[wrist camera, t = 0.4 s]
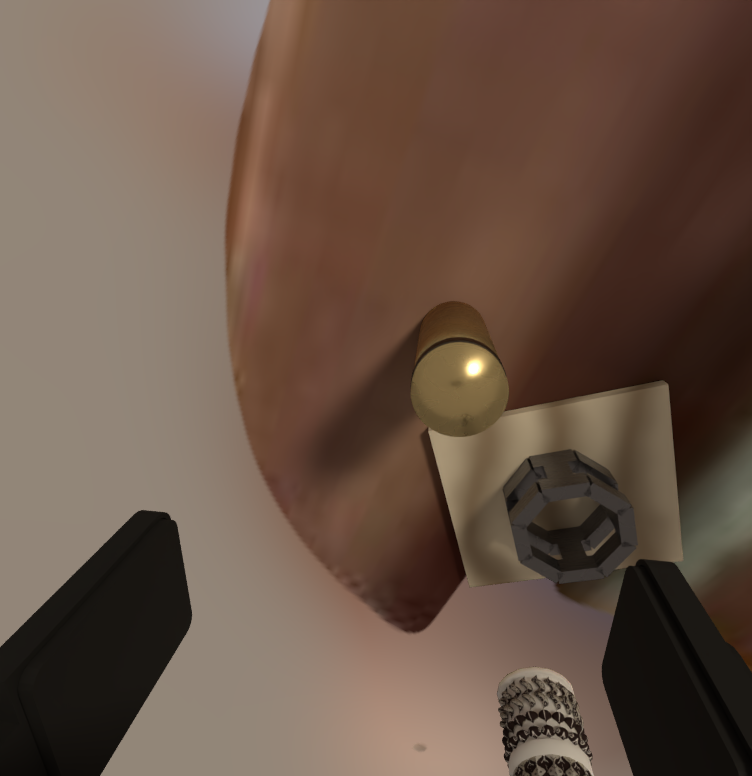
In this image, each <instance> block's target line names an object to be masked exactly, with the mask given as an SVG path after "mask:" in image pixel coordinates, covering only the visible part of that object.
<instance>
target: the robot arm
mask: <svg viewBox="0 0 752 776" xmlns="http://www.w3.org/2000/svg"><path fill="white" fill-rule="evenodd" d="M191 620H192V610H191V605H190V598H189V592H188V586H187V581H186V575H185V569H184V563H183V557H182V551H181V545H180V539H179V533H178V527H177V524H176V522H175V521H174V520H171V518H170V516H169V514H167V513H165V512H156V511H145V510H141V511H138V512H137V513H135V514H134V515H133V516H132V517H131V518H130V519H129V520H128V521H127V522H126V523H125V524H124V525H123V526H122V527H121V528H120V529H119V530H118V531H117V532H116V533H115V534H114V535H113V536H112V537H111V538H110V539H109V540H108V541H107V542H106V543H105V544H104V545H103V546H102V547H101V548H100V549H99V550H98V551H97V552H96V553H95V554H94V555H93V556H92V557H91V558H90V559H89V560H88V561H87V562H86V563H85V564H84V565H83V566H82V567H81V568H80V569H79V570H78V571H77V572H76V573H75V574H74V575H73V576H72V577H71V578H70V579H69V580H68V581H67V582H66V583H65V584H64V585H63V586H62V587H61V588H60V589H59V590H58V591H57V592H56V593H55V594H54V595H52V597H50V599H49V600H47V601H46V602H45V603H44V604H43V605H42V606H41V607H40V608H39V609H38V610H37V611H36V612H35V613H34V614H33V615H32V616H31V617H30V618H29V619H28V620H27V621H26V622H25V623H24V624H23V625H22V626H21V627H20V628H19V629H18V630H17V631H16V632H15V633H14V634H13V635H12V636H11V637H10V638H9V639H8V640H7V641H6V642H5V643H4V644H3V645H2V646H1V647H0V776H100V775H101V773H102V772H103V770H104V768H105V767H106V765H107V763H108V762H109V760H110V758H111V757H112V755H113V753H114V752H115V750H116V748H117V747H118V745H119V743H120V742H121V740H122V738H123V737H124V735H125V734H126V732H127V730H128V729H129V727H130V725H131V724H132V722H133V720H134V719H135V717H136V715H137V714H138V712H139V710H140V709H141V707H142V706H143V704H144V702H145V701H146V699H147V697H148V696H149V694H150V692H151V691H152V689H153V687H154V686H155V684H156V683H157V681H158V679H159V678H160V676H161V674H162V673H163V671H164V669H165V668H166V666H167V664H168V663H169V661H170V660H171V658H172V656H173V655H174V653H175V651H176V650H177V648H178V646H179V645H180V643H181V641H182V640H183V638H184V636H185V635H186V633H187V631H188V629H189V627H190V624H191ZM602 678H603V684H604V687H605V690H606V693H607V696H608V700H609V703H610V706H611V709H612V711H613V715H614V717H615V721H616V724H617V727H618V730H619V733H620V736H621V739H622V742H623V745H624V748H625V751H626V754H627V758H628V760H629V763H630V767H631V770H632V773H633V776H752V673H751V671H750V669H749V668H748V666H747V665H746V663H745V662H744V660H743V659H742V657H741V656H740V654H739V653H738V652H737V651H736V650H735V648H734V647H733V646H731V645H730V644H728V643H727V642H725V641H724V639H723V638H722V636H721V634H720V633H719V631H718V630H717V628H716V627H715V625H714V623H713V622H712V620H711V619H710V617H709V616H708V614H707V612H706V611H705V609H704V608H703V606H702V605H701V603H700V602H699V600H698V598H697V597H696V595H695V594H694V592H693V591H692V589H691V587H690V586H689V584H688V583H687V581H686V580H685V578H684V576H683V575H682V573H681V572H680V570H679V569H678V567H677V566H676V565H675V564H674V563H672V562H668V561H658V560H648V559H639V560H638V561H637V562H636V565H635V566H628V567H627V569H626V571H625V575H624V579H623V583H622V587H621V591H620V595H619V599H618V603H617V607H616V611H615V615H614V619H613V623H612V627H611V631H610V635H609V639H608V643H607V647H606V651H605V655H604V659H603V663H602Z"/></svg>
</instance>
